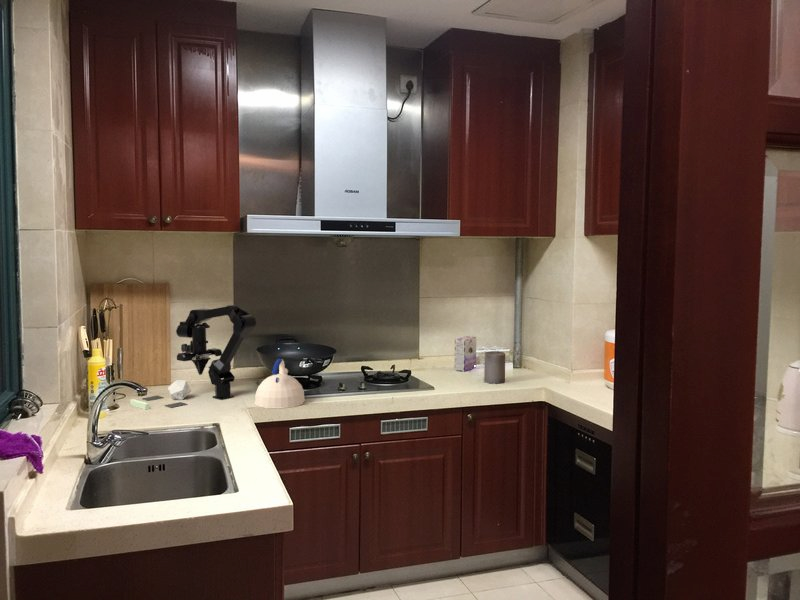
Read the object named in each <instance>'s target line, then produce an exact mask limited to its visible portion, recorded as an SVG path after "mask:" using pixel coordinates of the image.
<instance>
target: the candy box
mask: <svg viewBox="0 0 800 600" xmlns="http://www.w3.org/2000/svg"><path fill="white" fill-rule="evenodd" d="M474 365H476V366H477V336H473V335H472V336H470V335H469V336H468V335H465V336H463V337H459V338H456V339H454V372H455V371H456V372H463V373H464V372H468V371H469V370H473V369H475V368H474Z"/></svg>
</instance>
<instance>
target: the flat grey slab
mask: <svg viewBox="0 0 800 600" xmlns="http://www.w3.org/2000/svg"><path fill="white" fill-rule="evenodd" d="M161 399H164V396H161V395H157V394H156V395H152V396H147V397H143V398H141V400H138V399H135V398H133V399H132V398H131V399H129V401H130V402H129V405H130V406H133V407H136V408H140V409H143V410H150V403H148V402H149V401H155V400H161ZM142 400H144V401H147V402H144V401H142ZM183 405H184V406H187V405H188V403H186V402H182V401H180V402H174V403H170V404H169V403H168V404H165V405H164V407H167V408H170V409H174V408H177V407H183Z"/></svg>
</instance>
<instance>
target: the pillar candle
mask: <svg viewBox="0 0 800 600" xmlns="http://www.w3.org/2000/svg"><path fill="white" fill-rule="evenodd" d="M483 369H484V371H483V372H484V375H483V376H484V377H483V381H484V383H486V384H494V385H500V384H504V383H506V353H505V352H504V351H496V350H492V351H486V352H484V368H483Z"/></svg>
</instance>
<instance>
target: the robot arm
mask: <svg viewBox="0 0 800 600" xmlns="http://www.w3.org/2000/svg"><path fill="white" fill-rule="evenodd" d="M224 316H225V317H226V316H228V317H229V321H230V322H231V323H232V324H233V326H232V328H233V329H232V330H233V331H232V335H231V337H230V338H229V340H228V342H227V344H226V346H225V348H224V350H223V351H222V349H221V348H215V347H214V348H207V344H208V343H209V340H207V329H209V328H211V326H210V325H209V324H208V323H207V321H210V320H211V319H214V318H219V317H224ZM256 325H257V321H256V318H255V317H254V315H252V314H250V313H249V312H248V311H246V310H244V309H242V308H241V307H239V306H238V305H236V304H231V305H230V304H229V305H226V306H222V307H217V308H211V309H210V308H195V309H191V310H190V311H189V314H188V316H187V318H186V319H185V321H179V325H177V327H176V331H175V333H176V336H178V337H179V338H186V339H188V338H190V339H191V340H190V343H189V344H187V343H183V344H182V343H181V346H180V348H181V349H180V350H181V352H178V353H177V355H176V361H180V362H188V361H189V362H190V361H191V362H192V363H193V364H194V366H195V368H196V371H197V373H198V375H199V376H202V375H203V373H204V371H205V368H206V366H207V364H208V363H209V360H212V359H211V357H209V356H213V355H214V356H215V357H219V359H218V358H217V359H214V360H212V361H211V363H210V366H208V371H207V373H208V377H209V379H210V383H211V385H214V386H215V387H214V391H215V394H214V395H212V398H214V399H217V400H226V399H231V398H234V395H232V394H231V392H232V391H231V383H232V382H234V381H235V377H236V376H235V375H234V374H233V373H232V372H231V369H232V365H231V364H232V361H233V359H234V357H235V356H236V354H237V352H238V349H239V348H240V346H241V344H242V343H243V341H244V339H245V337H246V336H248V334H250V333H251V332H252V330H254V328H255V327H256Z"/></svg>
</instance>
